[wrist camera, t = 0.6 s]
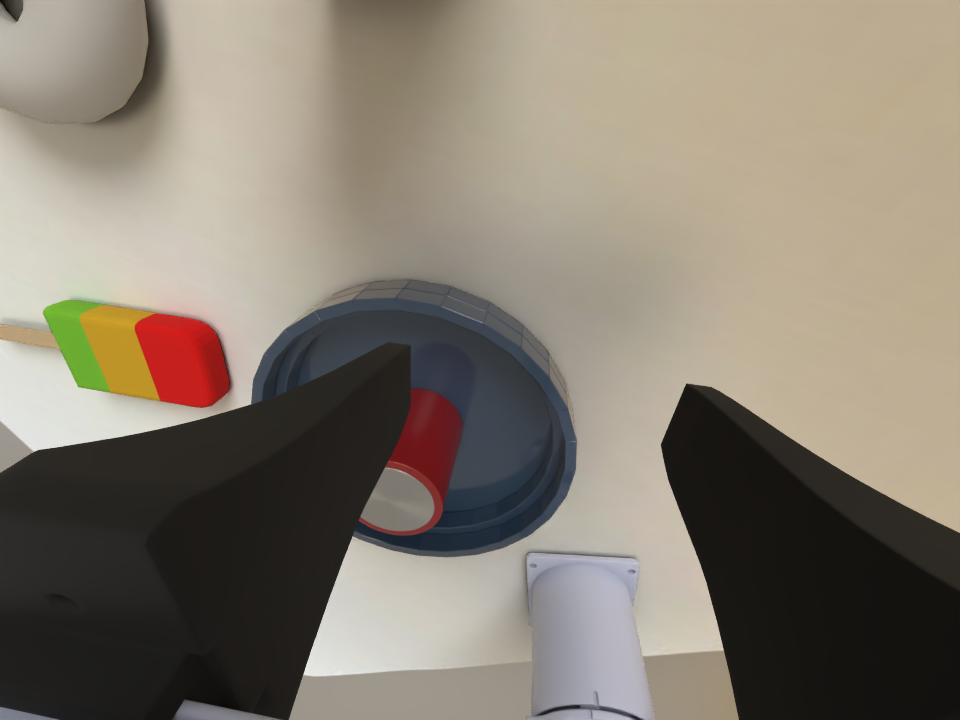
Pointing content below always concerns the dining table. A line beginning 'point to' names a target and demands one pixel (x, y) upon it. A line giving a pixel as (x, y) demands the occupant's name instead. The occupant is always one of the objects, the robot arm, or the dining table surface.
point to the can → (417, 469)
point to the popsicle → (133, 352)
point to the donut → (71, 58)
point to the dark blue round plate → (468, 386)
